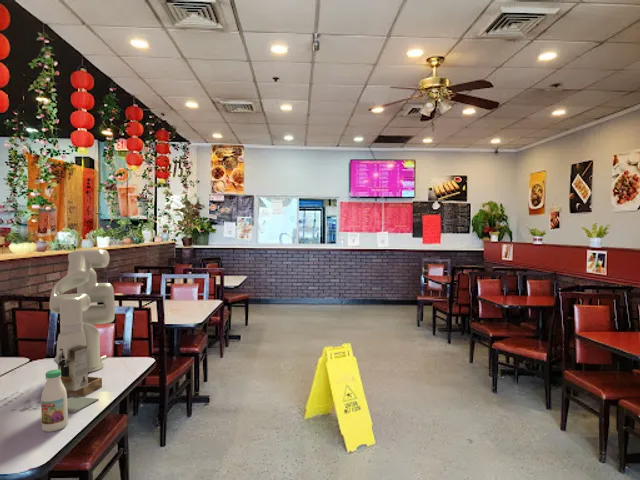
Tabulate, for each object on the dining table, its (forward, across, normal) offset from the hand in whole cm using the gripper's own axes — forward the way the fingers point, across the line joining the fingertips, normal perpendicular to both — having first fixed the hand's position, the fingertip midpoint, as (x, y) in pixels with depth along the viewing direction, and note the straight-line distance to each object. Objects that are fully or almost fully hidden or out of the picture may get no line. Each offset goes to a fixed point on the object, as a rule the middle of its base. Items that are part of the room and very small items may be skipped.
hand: (73, 372), depth 162 cm
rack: (+13, -13, -10) cm, 21 cm away
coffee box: (+6, 0, 0) cm, 6 cm away
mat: (+13, 0, 0) cm, 13 cm away
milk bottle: (+13, +16, +8) cm, 22 cm away
